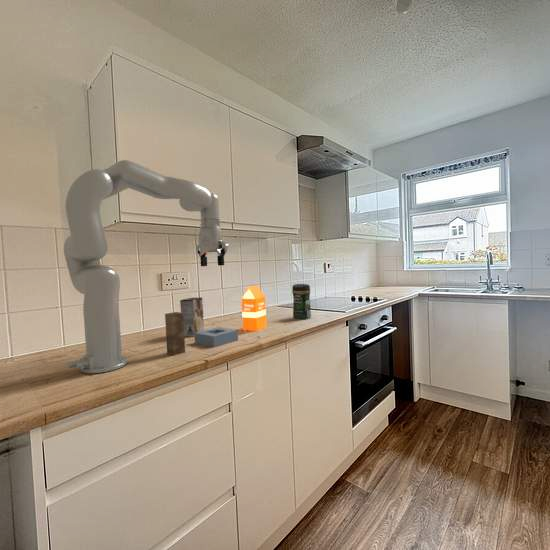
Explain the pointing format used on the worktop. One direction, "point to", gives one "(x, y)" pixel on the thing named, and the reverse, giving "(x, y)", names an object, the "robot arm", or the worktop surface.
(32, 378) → the worktop surface
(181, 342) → the peg
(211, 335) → the socket block
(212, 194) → the robot arm
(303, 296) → the coffee jar
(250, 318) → the orange juice
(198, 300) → the coffee box
